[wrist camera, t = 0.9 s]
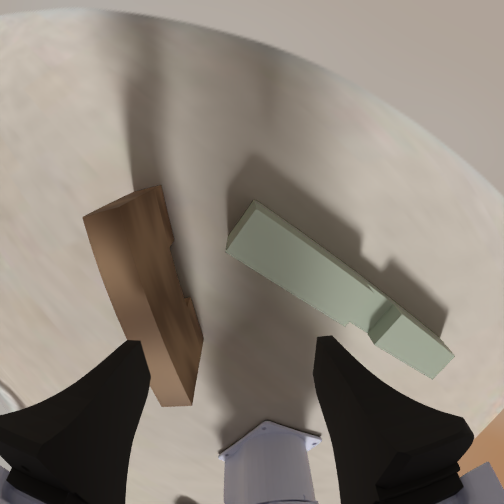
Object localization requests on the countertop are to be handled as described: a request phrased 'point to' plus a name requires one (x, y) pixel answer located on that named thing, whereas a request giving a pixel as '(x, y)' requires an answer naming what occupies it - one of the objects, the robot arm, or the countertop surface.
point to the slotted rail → (333, 288)
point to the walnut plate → (148, 290)
